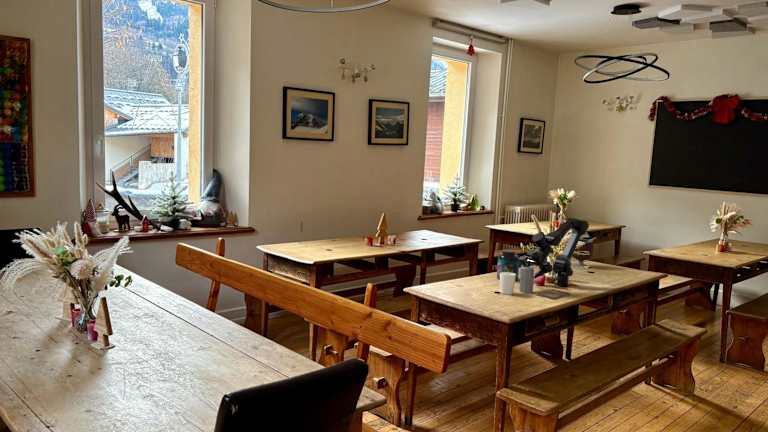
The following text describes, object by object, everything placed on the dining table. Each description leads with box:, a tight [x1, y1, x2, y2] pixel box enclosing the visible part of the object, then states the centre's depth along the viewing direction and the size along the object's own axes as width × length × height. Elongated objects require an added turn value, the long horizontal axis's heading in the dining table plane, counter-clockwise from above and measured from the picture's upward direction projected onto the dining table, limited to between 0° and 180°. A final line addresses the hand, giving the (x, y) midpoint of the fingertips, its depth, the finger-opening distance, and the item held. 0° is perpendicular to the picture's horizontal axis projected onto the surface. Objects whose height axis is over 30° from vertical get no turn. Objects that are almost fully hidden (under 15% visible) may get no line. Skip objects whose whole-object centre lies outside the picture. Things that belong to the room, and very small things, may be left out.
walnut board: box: [535, 288, 571, 300], centre depth 285 cm, size 16×10×1 cm, turn 132°
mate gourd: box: [571, 237, 597, 268], centre depth 364 cm, size 16×14×20 cm
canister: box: [519, 266, 535, 294], centre depth 289 cm, size 6×6×12 cm
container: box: [496, 249, 520, 282], centre depth 318 cm, size 12×12×17 cm
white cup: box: [499, 272, 516, 296], centre depth 285 cm, size 8×8×10 cm
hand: (527, 276), depth 289 cm, fingers open, 9 cm apart
